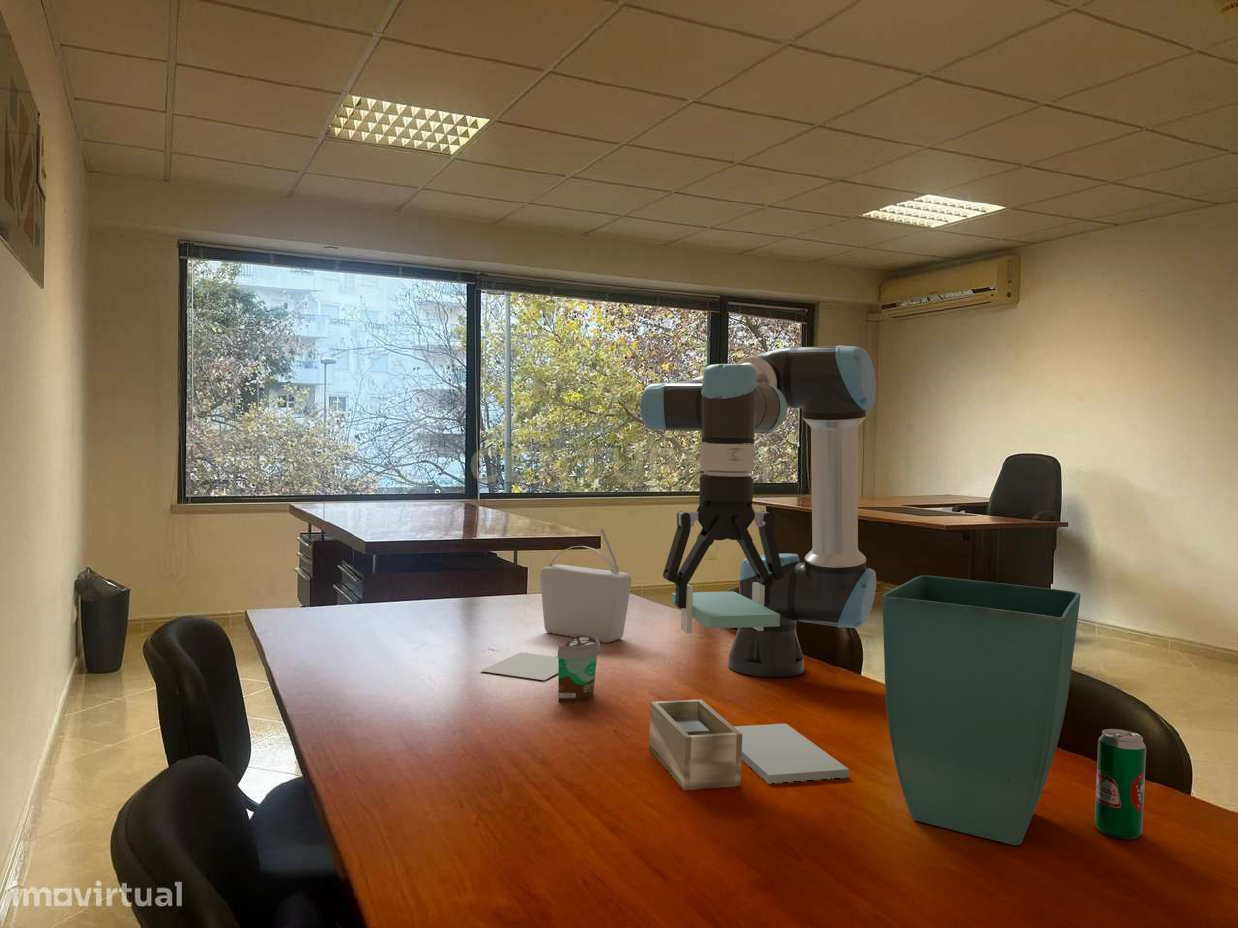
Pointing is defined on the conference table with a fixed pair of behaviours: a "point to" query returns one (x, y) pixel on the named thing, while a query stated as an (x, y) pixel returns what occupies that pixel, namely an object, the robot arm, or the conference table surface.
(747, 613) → the lid
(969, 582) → the flower pot
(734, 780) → the box
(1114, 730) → the soda can
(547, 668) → the paper stack
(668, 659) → the conference table surface
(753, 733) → the mat
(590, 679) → the food container
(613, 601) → the radio
